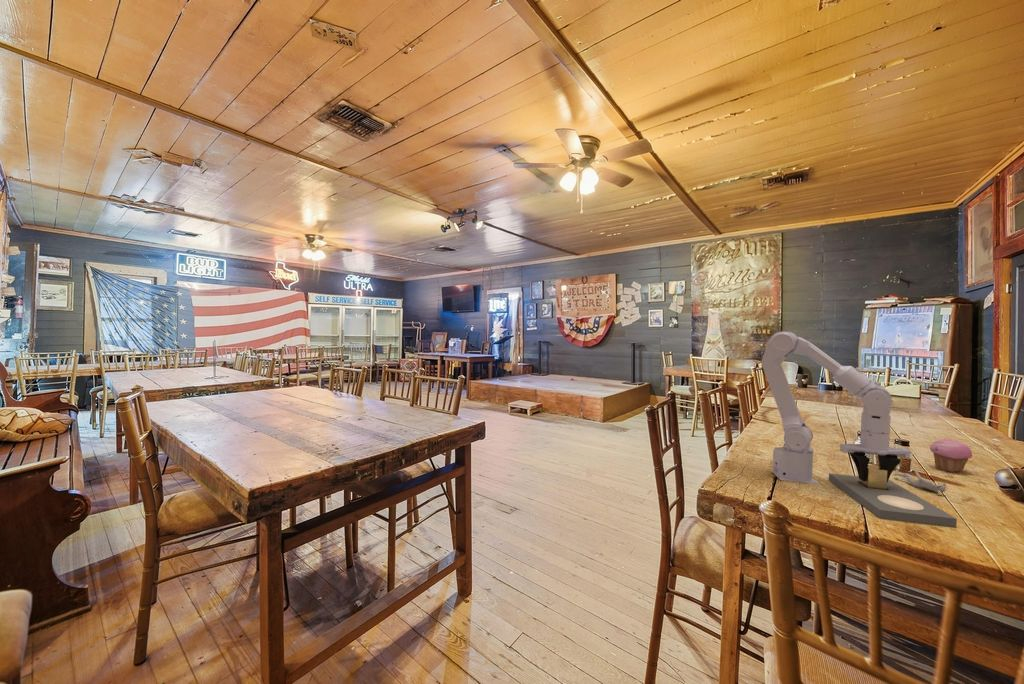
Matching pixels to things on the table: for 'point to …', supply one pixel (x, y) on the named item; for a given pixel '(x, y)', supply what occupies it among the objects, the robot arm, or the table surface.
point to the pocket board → (893, 502)
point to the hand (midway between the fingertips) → (872, 480)
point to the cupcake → (950, 455)
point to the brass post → (875, 478)
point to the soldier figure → (921, 481)
